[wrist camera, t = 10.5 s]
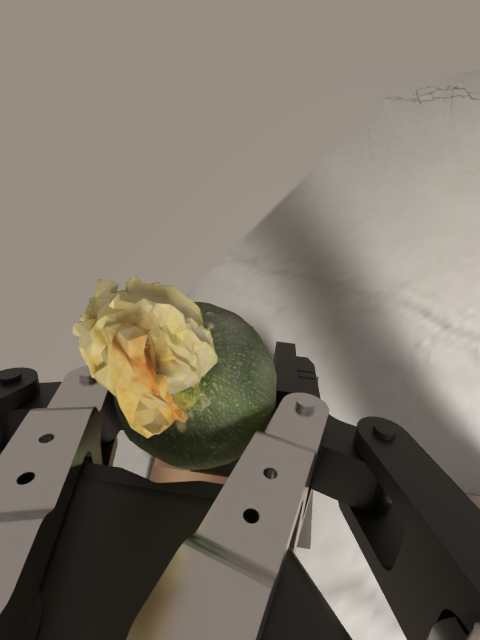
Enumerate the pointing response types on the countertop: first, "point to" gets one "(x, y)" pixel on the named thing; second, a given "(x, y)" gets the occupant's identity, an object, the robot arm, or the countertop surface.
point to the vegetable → (178, 372)
